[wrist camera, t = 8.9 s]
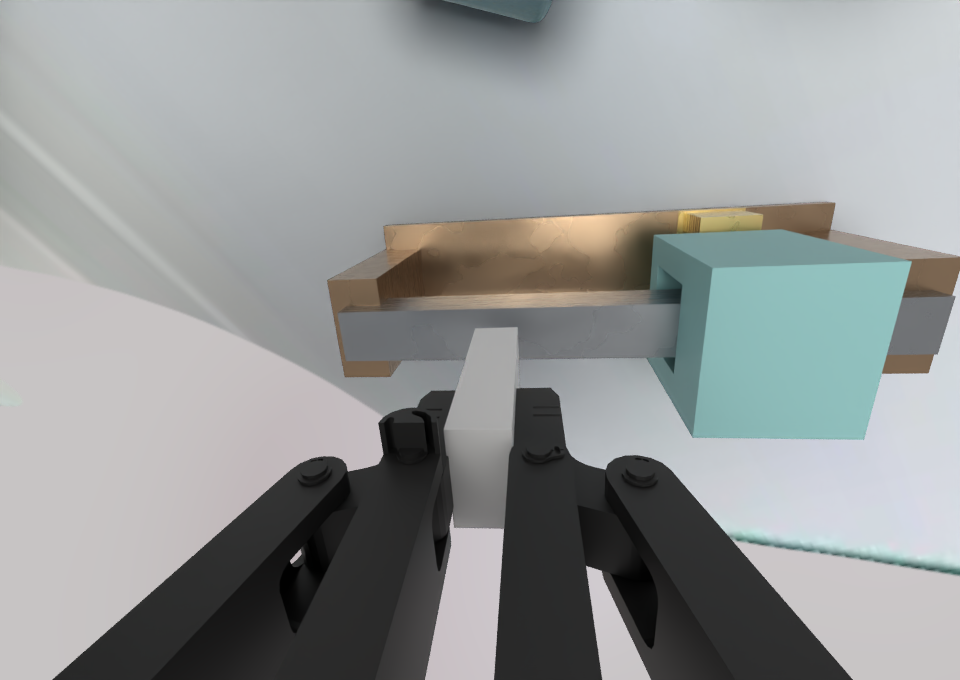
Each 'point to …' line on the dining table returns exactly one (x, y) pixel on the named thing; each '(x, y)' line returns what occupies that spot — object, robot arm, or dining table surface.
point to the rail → (579, 287)
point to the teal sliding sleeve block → (776, 332)
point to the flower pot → (511, 8)
